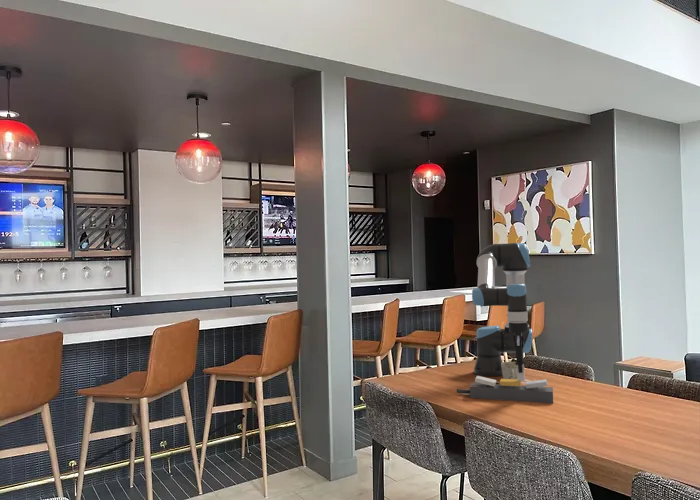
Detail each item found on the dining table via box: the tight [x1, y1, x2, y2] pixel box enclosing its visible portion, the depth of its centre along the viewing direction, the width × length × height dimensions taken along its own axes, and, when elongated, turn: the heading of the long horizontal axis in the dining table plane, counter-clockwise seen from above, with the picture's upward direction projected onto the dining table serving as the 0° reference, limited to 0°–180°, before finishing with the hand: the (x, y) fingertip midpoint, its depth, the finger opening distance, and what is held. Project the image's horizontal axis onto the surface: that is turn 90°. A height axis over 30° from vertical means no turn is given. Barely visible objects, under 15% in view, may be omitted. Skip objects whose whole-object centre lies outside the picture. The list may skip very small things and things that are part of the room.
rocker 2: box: [499, 378, 522, 386], centre depth 216 cm, size 5×8×2 cm, turn 69°
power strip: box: [456, 382, 554, 404], centre depth 217 cm, size 8×38×5 cm, turn 69°
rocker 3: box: [525, 378, 548, 389], centre depth 212 cm, size 5×8×2 cm, turn 69°
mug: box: [501, 361, 517, 379], centre depth 235 cm, size 8×13×10 cm, turn 174°
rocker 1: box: [474, 375, 497, 387], centre depth 219 cm, size 5×8×2 cm, turn 69°
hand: (521, 380), depth 214 cm, fingers closed
